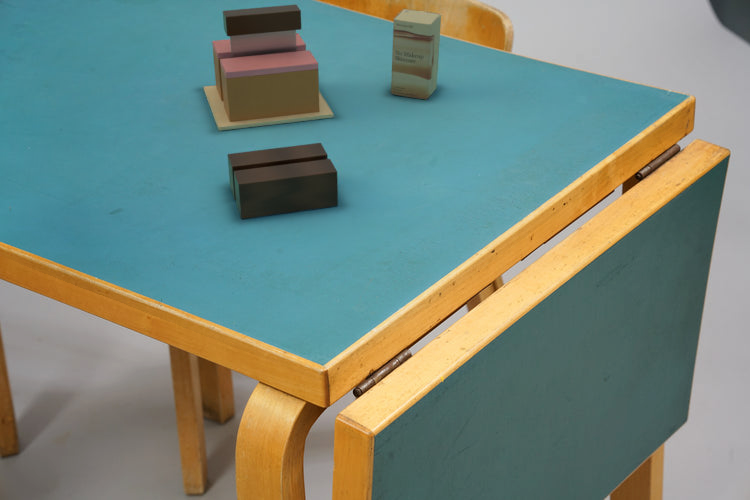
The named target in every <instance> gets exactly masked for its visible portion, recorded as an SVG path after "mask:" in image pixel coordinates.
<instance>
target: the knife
mask: <svg viewBox="0 0 750 500" xmlns="http://www.w3.org/2000/svg"><path fill="white" fill-rule="evenodd" d="M222 19H223V22H222V23H223V30H224V33H225V35H226V37H229V39H230V44H231V57H232V58H236V57H246V56H256V55H267V54H277V53H287V52H297V47H296V33H297V31H300V30H302V11H301V9H300V7H299V6H298V4H286V5H273V6H263V7H251V8H240V9H230V10H229V9H228V10H223V11H222Z"/></svg>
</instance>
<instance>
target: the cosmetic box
mask: <svg viewBox="0 0 750 500" xmlns="http://www.w3.org/2000/svg"><path fill="white" fill-rule="evenodd" d="M441 23H442V14H441V13H437V12H431V11H426V10H415V9H410V8H409V9H408V8H403V9H402V10H401V11H400V12H398V13H397V14H396V16H394V18H393V28H392V30H393V31H392V52H391V53H392V54H391V78H390V79H391V81H390V94H391V95H394V96H395V95H396V96H401V97H406V98H412V99H420V100H428V99H429V98H430V97H431V95H432V94H433V93H434V92H435V91H436V90H437V86H438V73H439V72H438V71H439V57H440V55H439V54H440V40H441V39H440V38H441V27H442V26H441V25H442V24H441Z"/></svg>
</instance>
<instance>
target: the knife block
mask: <svg viewBox="0 0 750 500" xmlns="http://www.w3.org/2000/svg"><path fill="white" fill-rule="evenodd" d="M325 149H326V148H325V147H324V146H323V144H322V143H321V142H315V143H308V144H299V145H291V146H290V145H289V146H283V147H275V148H267V149H259V150H249V151H242V152H234V153H227V165H228V166H227V167H228V177H229V188H230V191H231V193H232V197H233V200H234V201H235V202H236V203H235V205H236V208H237V211H238V214H239V216H240V217H239V218H240V220H246V219H253V218H259V217H260V218H261V217H268V216H275V215H282V214H288V213H295V212H303V211H311V210H318V209H325V208H333V207H338V206H339V197H338V196H339V195H338V194H339V193H338V187H339V186H338V170H337V169H336V167H335V165H334V163H333V161H332V160H331V158H329V155H328V152H327V151H326V150H325Z"/></svg>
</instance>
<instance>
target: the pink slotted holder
mask: <svg viewBox="0 0 750 500" xmlns="http://www.w3.org/2000/svg"><path fill="white" fill-rule="evenodd" d="M211 45H212V46H211V47H212V56H213V67H214V78H215V79H214V81H215V85H204V86H203V92H204V94H205V98H206V99H207V102H208V105H209V108H210V110H211V114H212V116H213V118H214V121H215V124H216V126H217V129H218V131H219V132H221V131H228V130H237V129H239V130H240V129H244V128H245V129H247V128H256V127H263V126H264V127H265V126H273V125H281V124H290V123H299V122H306V121H315V120H322V119H323V120H324V119H332V118H334V117H335V115H334V113H333V111H332V109H331V107H330V106H329V104H328V103H327V101H326V99H325V98H324V96H323V95H322V93H321V92H320V80H319V79H320V77H319V62H318V61H317V59H316V57H315V56H314V55H313V53H312V52H311V50H307V44H306V42H305V41H304V40H303V38H302V36H301V35H300V34H299V32H296V47H297V52H287V53H277V54H267V55H256V56H246V57H236V58H232V57H231V44H230V38H228V39H219V40H212V41H211Z"/></svg>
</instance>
